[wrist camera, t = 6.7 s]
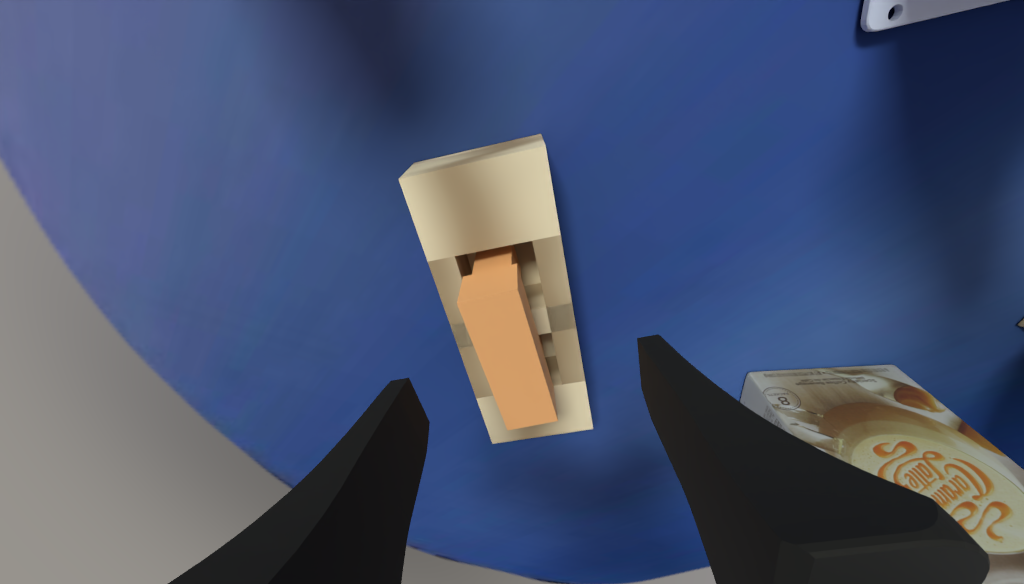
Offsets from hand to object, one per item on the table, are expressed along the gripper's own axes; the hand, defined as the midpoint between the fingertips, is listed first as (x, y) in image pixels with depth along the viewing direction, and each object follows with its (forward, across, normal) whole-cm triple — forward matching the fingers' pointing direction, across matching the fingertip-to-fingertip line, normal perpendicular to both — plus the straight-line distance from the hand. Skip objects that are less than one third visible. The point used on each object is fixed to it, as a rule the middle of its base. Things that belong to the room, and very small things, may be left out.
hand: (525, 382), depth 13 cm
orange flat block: (+9, +1, +2) cm, 10 cm away
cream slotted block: (+10, +1, +2) cm, 10 cm away
